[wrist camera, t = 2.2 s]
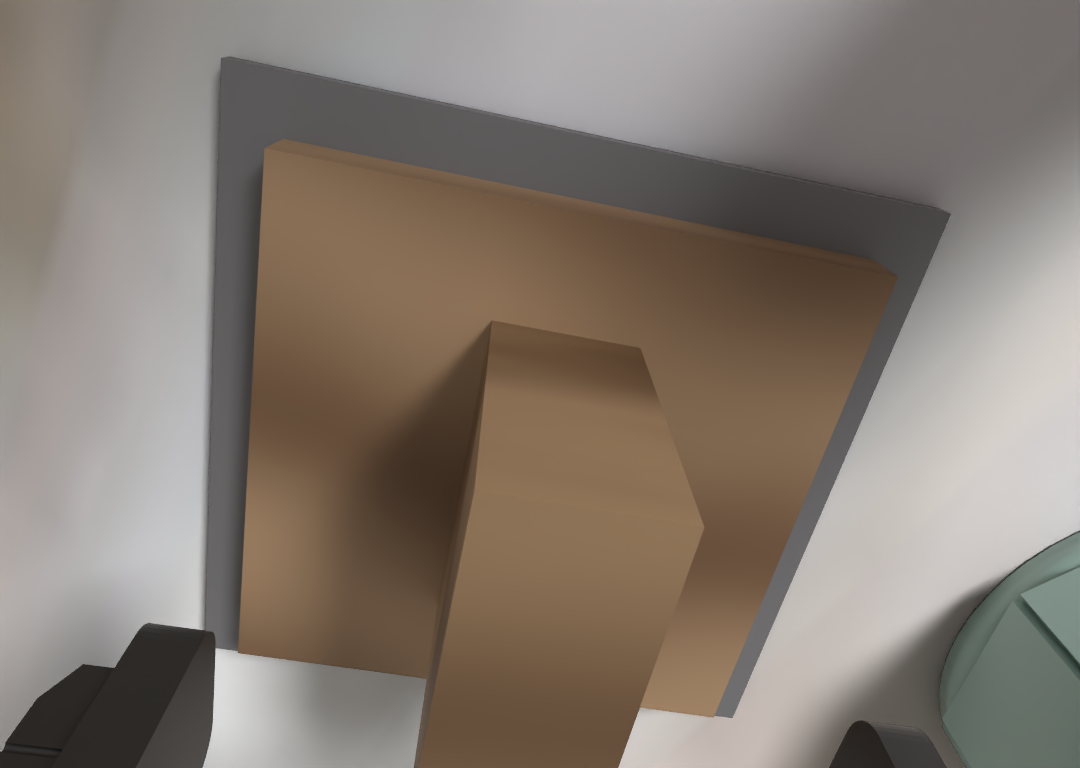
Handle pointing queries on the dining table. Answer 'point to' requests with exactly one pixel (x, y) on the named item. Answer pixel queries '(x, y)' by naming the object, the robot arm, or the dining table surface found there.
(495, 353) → the lid
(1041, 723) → the bowl
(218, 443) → the mat
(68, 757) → the robot arm
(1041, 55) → the dining table surface
